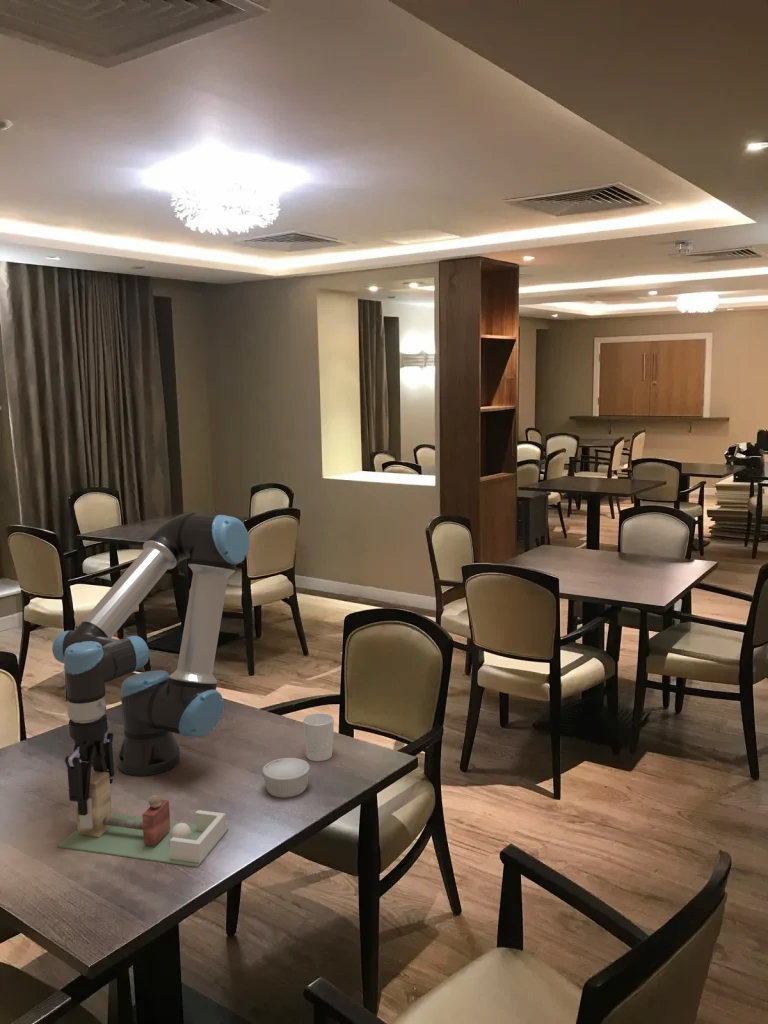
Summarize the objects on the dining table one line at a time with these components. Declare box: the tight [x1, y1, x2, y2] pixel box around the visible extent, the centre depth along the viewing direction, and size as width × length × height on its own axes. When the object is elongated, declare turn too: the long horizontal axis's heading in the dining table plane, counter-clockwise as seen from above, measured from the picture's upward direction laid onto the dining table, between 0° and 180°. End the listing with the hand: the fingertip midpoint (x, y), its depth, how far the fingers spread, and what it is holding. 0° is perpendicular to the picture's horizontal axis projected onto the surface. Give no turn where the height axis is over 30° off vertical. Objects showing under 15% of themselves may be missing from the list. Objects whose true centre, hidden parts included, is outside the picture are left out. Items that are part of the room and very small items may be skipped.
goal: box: [170, 809, 227, 864], centre depth 164 cm, size 6×12×4 cm, turn 166°
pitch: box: [57, 813, 229, 868], centre depth 168 cm, size 32×14×1 cm, turn 76°
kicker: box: [75, 770, 171, 846], centre depth 168 cm, size 18×6×12 cm, turn 76°
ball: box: [171, 822, 191, 839], centre depth 165 cm, size 4×4×4 cm
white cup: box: [302, 712, 335, 762], centre depth 204 cm, size 8×8×10 cm
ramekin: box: [262, 757, 311, 799], centre depth 188 cm, size 11×11×5 cm
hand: (95, 819), depth 170 cm, fingers closed on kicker, 5 cm apart
